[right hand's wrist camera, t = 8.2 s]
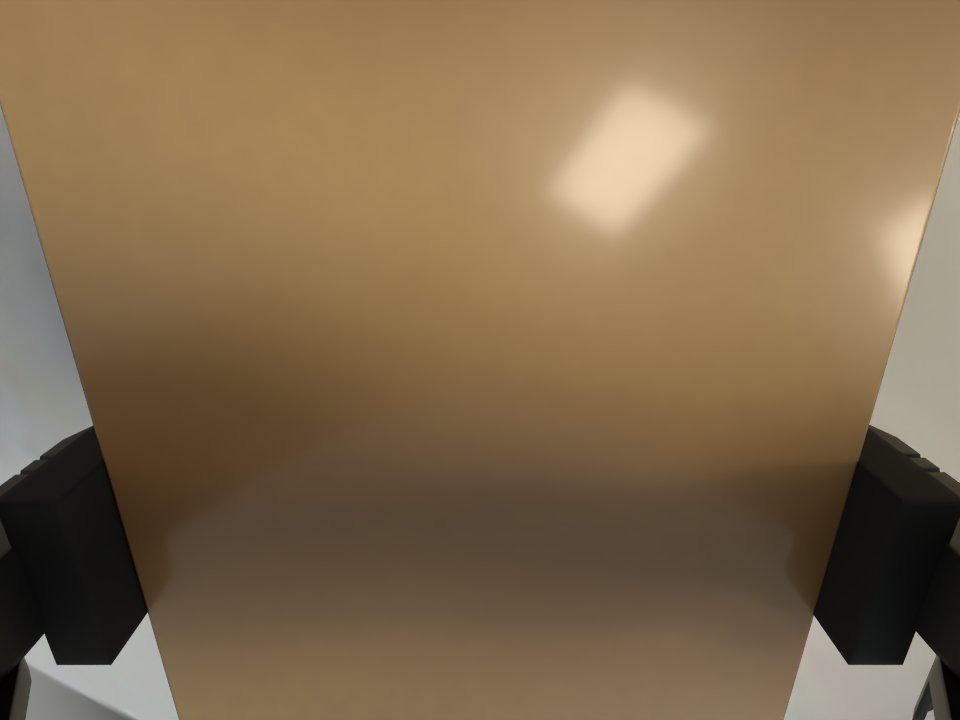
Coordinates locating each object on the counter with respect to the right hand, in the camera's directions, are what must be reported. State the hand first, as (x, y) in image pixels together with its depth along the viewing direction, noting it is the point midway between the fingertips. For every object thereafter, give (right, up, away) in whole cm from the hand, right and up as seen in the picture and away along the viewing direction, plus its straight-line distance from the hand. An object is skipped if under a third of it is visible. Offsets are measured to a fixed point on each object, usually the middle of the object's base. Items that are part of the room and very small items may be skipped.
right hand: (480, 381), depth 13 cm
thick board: (0, +24, -9) cm, 26 cm away
